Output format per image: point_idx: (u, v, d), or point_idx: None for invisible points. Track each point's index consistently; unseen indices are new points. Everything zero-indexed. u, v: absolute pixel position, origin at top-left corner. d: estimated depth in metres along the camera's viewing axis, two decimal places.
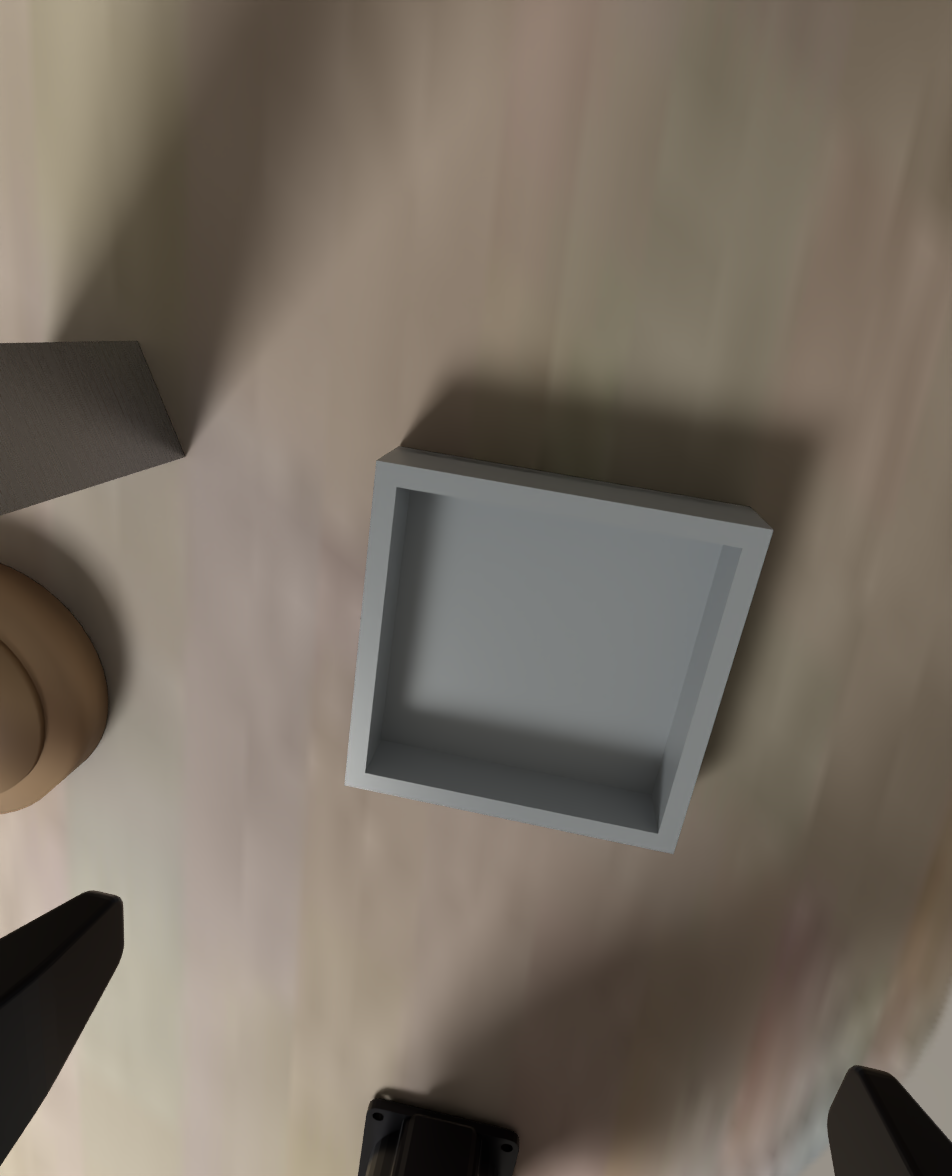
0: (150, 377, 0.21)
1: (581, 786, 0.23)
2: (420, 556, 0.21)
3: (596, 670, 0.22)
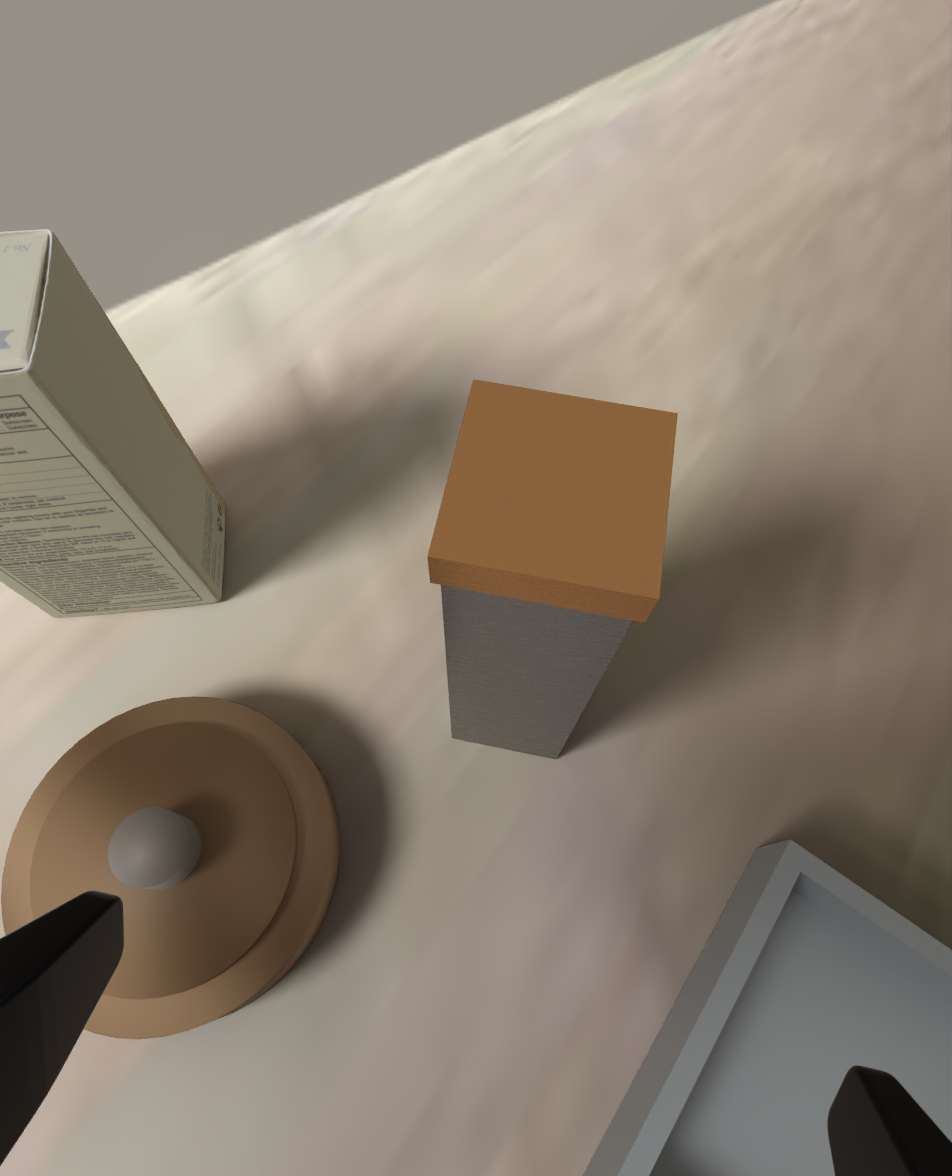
0: None
1: None
2: None
3: None
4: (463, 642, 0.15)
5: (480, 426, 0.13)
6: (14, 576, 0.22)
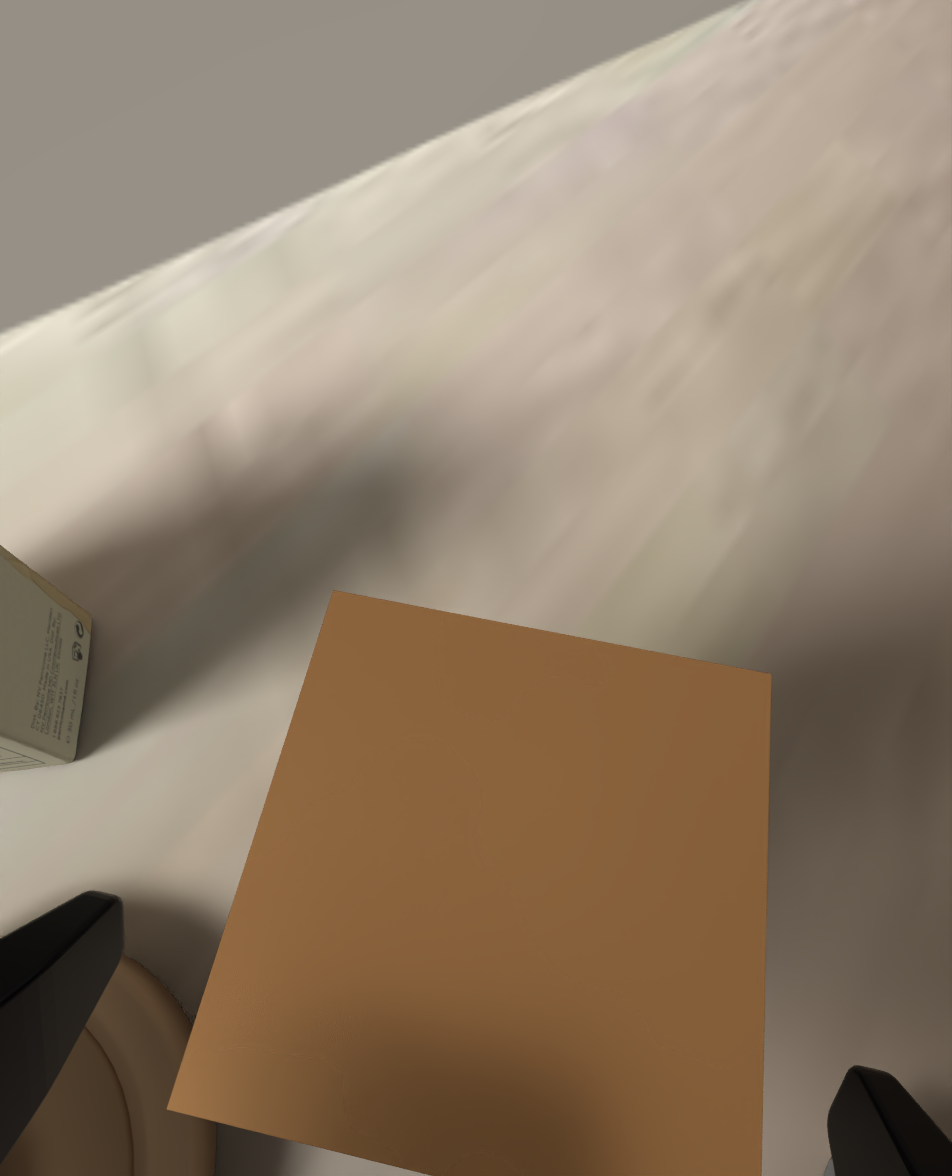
0: None
1: None
2: None
3: None
4: None
5: (337, 711, 0.06)
6: None
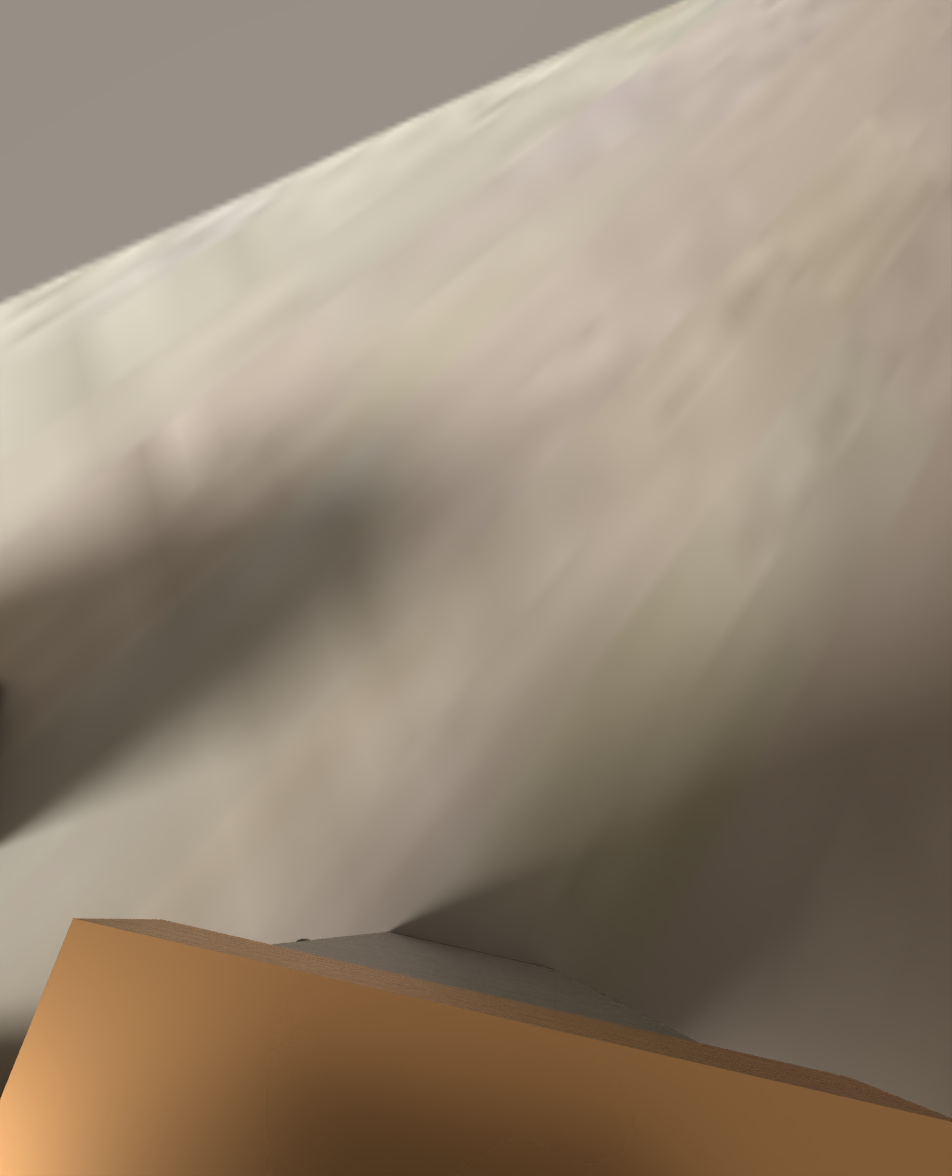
0: None
1: None
2: None
3: None
4: None
5: None
6: None
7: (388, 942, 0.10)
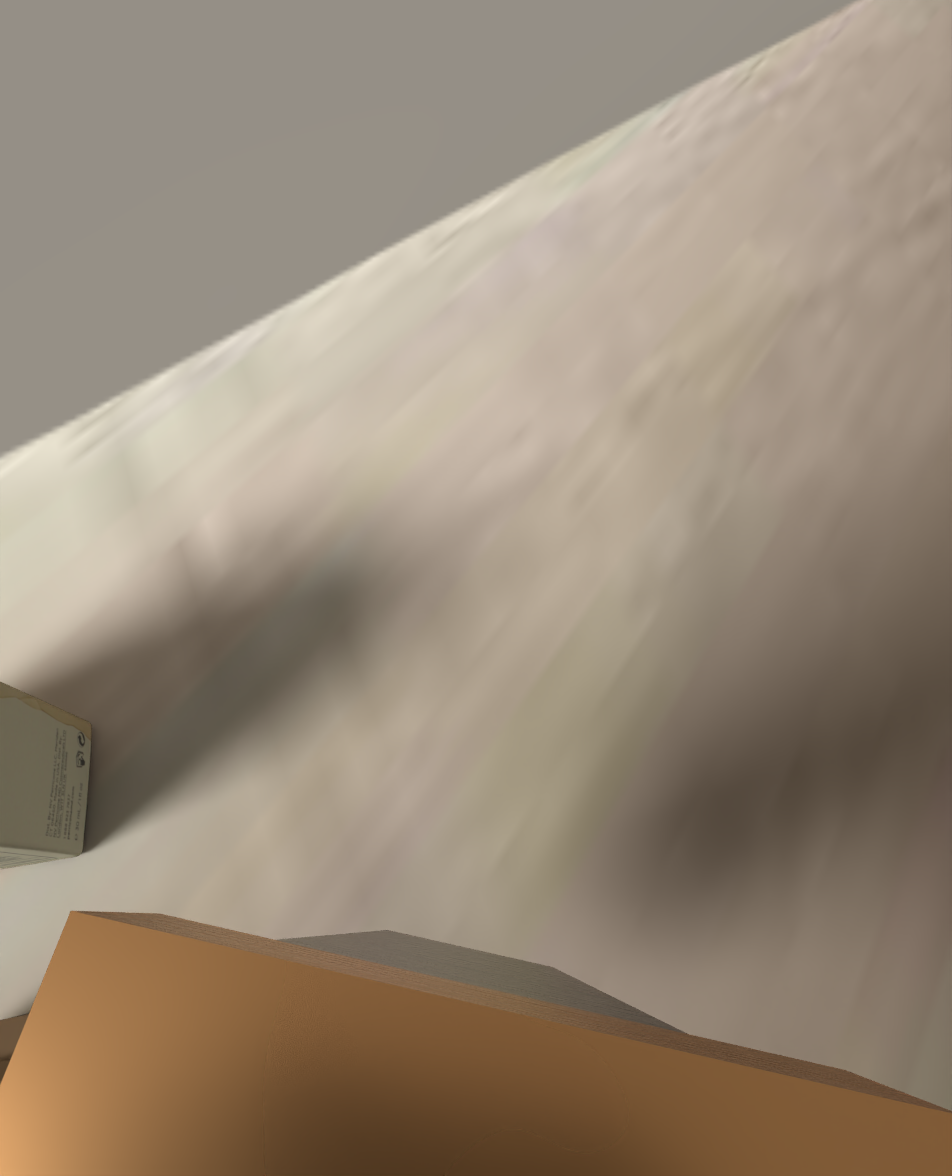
0: None
1: None
2: None
3: None
4: None
5: None
6: None
7: (387, 940, 0.10)
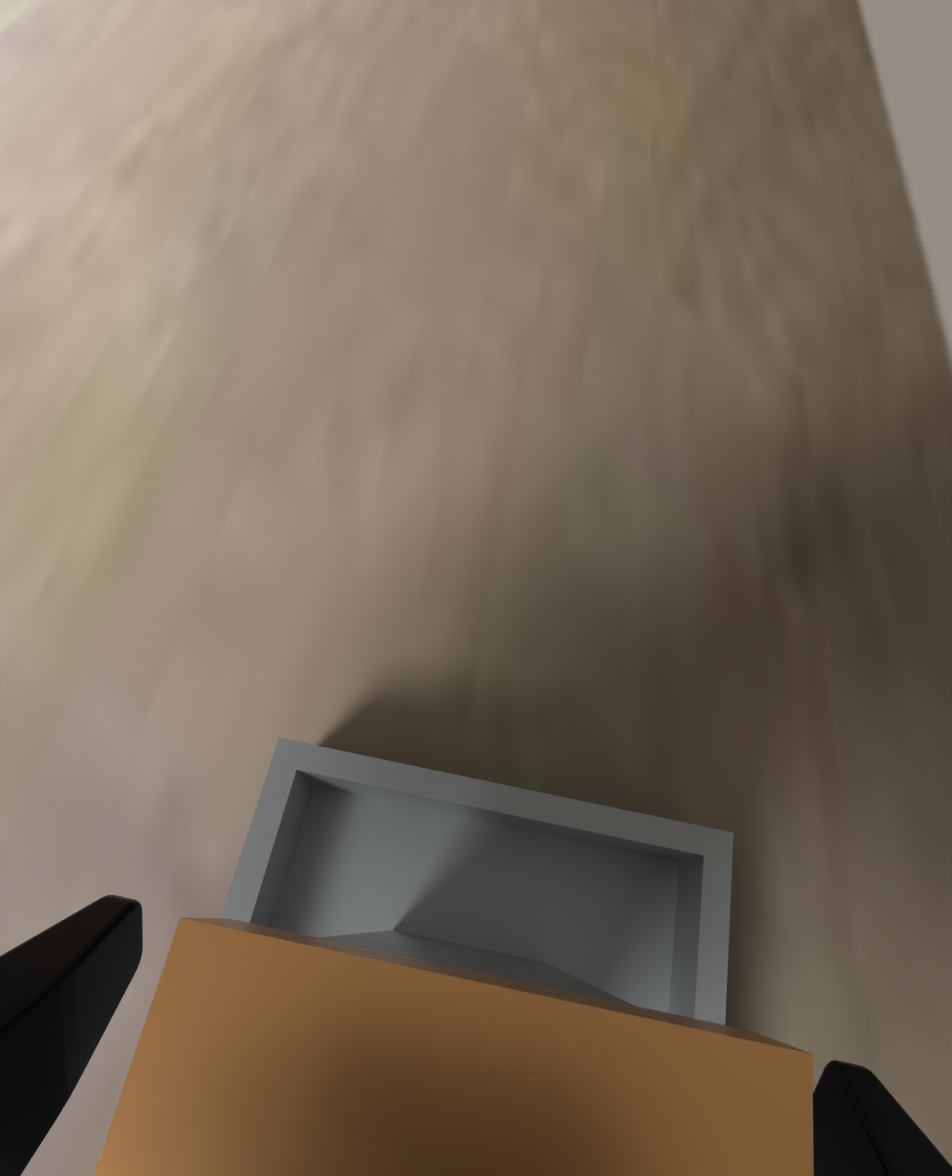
0: None
1: None
2: (304, 894, 0.16)
3: None
4: None
5: (171, 1136, 0.04)
6: None
7: (394, 938, 0.12)
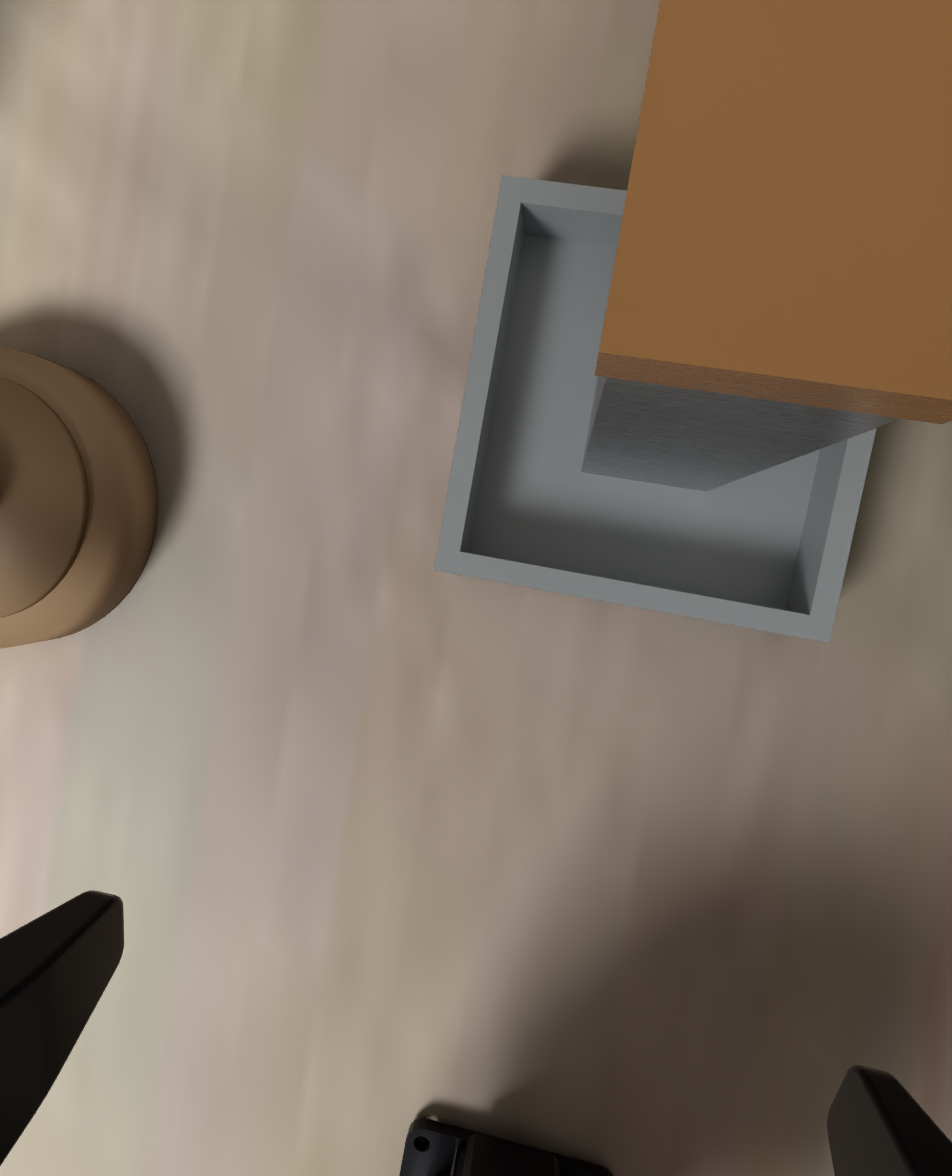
0: None
1: (704, 593, 0.20)
2: (528, 324, 0.20)
3: None
4: (623, 417, 0.11)
5: (684, 70, 0.07)
6: None
7: None
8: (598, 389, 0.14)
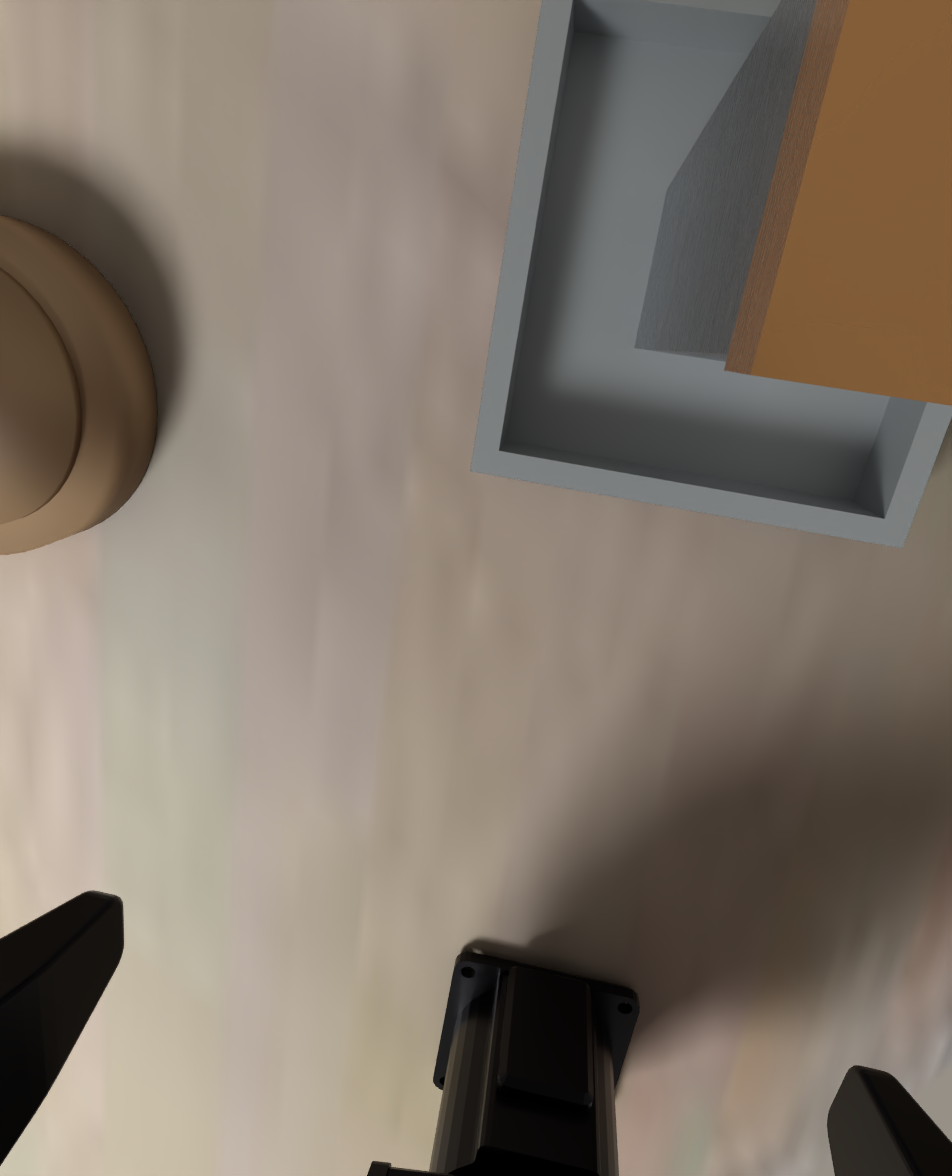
0: None
1: (766, 487, 0.18)
2: (576, 160, 0.16)
3: None
4: (724, 356, 0.09)
5: None
6: None
7: None
8: (680, 288, 0.11)
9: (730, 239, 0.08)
